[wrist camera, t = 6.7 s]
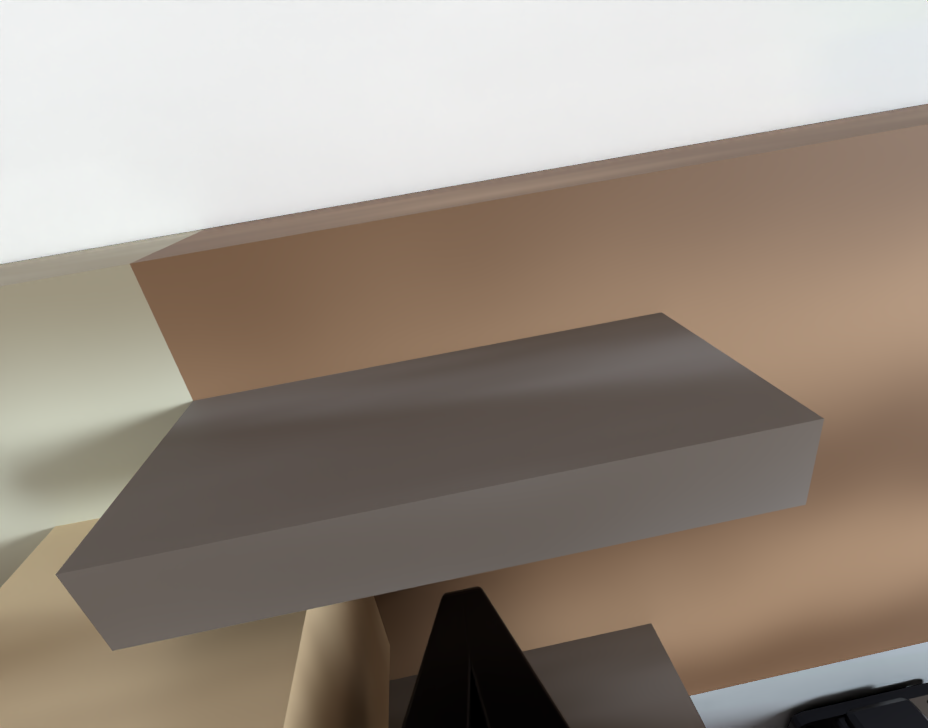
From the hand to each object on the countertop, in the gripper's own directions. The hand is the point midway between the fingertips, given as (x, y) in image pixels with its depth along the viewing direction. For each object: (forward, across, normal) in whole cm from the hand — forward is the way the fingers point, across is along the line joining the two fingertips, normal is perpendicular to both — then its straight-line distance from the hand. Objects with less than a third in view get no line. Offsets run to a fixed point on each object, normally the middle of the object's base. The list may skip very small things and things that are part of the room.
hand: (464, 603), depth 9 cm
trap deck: (+4, +4, 0) cm, 6 cm away
